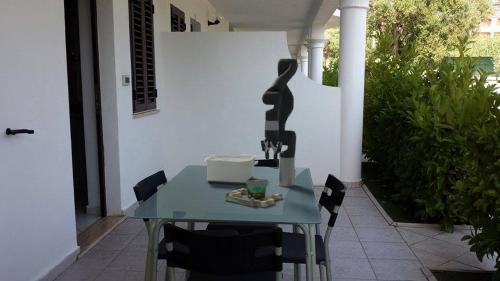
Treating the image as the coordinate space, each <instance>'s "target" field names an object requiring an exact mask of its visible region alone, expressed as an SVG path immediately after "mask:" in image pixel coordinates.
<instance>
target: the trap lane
mask: <svg viewBox="0 0 500 281" xmlns="http://www.w3.org/2000/svg"><path fill="white" fill-rule="evenodd" d="M224 194H225V199H224V200H225V201H227V202H232V203H235V204H240V205H243V206H244V205H245V206H248V207H253V208H254V207H261V208H265V207H268V206H272V205H275V201H277V200H280V199H283V193H282V192H279V193H276V194H272V195H268V196H265V197H264V198H263V199H262V200H263V201H262V200H260V199H255V198H250V199H246V198H243V196H242V195H247V196H248V193H247V188H239V189H235V190H231V194H230V192H229V191H227V192H225V193H224Z"/></svg>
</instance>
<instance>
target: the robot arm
mask: <svg viewBox="0 0 500 281" xmlns="http://www.w3.org/2000/svg"><path fill="white" fill-rule="evenodd" d="M298 68H299V67H298V60H297V59H295V58H279V59H278V61H277V77H276V78H275V79H274V81H273V82H272V84H271V86H270V87H268V88H267V89H266V90H265V91H264V92H263V94H262V96H261V100H262V103H263V104H264V105H265V106H273V107H272V108H270V109H267V110H265V111H264V112H265V114H264V116H265V117H264V120H265V121H264V139H263V140H260V146H261V151H262V152H264V157H265V160H267V161H268V160H270V150H272V152H273V161H275V162H276V161H277V160H278V163H279V164H278V186H280V187H284V188H285V187H287V188H288V187H289V188H290V187H294V186H295V185H296V169H295V167H296V166H295V163H296V162H295V160H296V159H295V158H296V156H295V155H296V150H297V149H296V148H297V133H296V132H295V131H294V130H286V124H287V121H288V119H289V117H290V116H291V114H292V113H293V110H294V108H295V107H294V105H295V104H294V103H295V101H294V100H295V98H294V95H293V93H292V91H291V89H290V87H289V85H288V82H290V81H291V79H293V77H294V76H295V75H296V73H297V71H298ZM283 146H285V147H287V148H286V149H285V150H282V148H283ZM278 155H279V158H278Z"/></svg>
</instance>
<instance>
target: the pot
mask: <svg viewBox="0 0 500 281" xmlns="http://www.w3.org/2000/svg"><path fill="white" fill-rule="evenodd" d="M256 158H257V155H254V154H242V153H241V154H240V153H214V154H212V155H210V156H208V157H206V158H204V163H206V173H207V174H206V179H207V181H208V183H210V184H211V183H212V184H213V183H214V184H227V183H228V185H230V184H231V185H245V184H246V183H245V182H246V179H247V180H251V179H252V178H253V177H254V175H255V166H256V165H257V164H258V163H259V160H256Z"/></svg>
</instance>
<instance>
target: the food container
mask: <svg viewBox="0 0 500 281" xmlns="http://www.w3.org/2000/svg"><path fill="white" fill-rule="evenodd" d="M268 183H269V182H268V178H267V177H266V178H265V179H253V180H251V179H250V180H247V179H246V182H245V184H246V189H247V193H248V195H247V198H248V199H251V198H255V200H263V198H264V197H266V192H267V190H266V189H267V184H268Z"/></svg>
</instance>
